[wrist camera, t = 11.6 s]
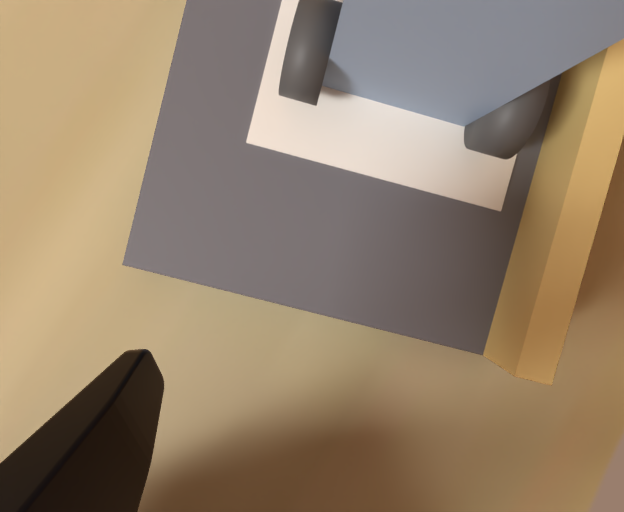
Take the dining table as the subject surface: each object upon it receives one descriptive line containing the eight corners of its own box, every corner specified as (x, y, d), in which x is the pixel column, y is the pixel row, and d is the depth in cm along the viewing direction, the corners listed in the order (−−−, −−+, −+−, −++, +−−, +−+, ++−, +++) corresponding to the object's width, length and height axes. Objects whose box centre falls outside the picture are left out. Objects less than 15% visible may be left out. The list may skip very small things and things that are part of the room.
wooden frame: (492, 349, 20) (551, 385, 16) (139, 260, 19) (94, 271, 15) (621, -110, 19) (723, -213, 15) (258, -226, 18) (249, -372, 14)
